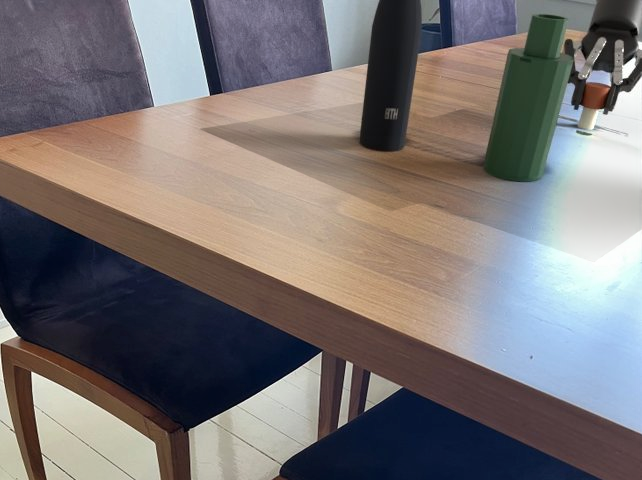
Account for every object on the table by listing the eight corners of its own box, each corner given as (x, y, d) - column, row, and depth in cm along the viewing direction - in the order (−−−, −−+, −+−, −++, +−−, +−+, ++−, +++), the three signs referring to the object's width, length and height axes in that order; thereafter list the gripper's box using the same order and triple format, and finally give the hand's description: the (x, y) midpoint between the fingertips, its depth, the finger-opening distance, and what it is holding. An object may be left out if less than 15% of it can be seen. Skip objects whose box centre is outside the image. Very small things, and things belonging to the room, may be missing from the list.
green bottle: (552, 173, 98) (594, 20, 87) (525, 186, 93) (567, 24, 82) (500, 158, 102) (535, 9, 90) (472, 169, 97) (505, 13, 86)
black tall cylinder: (380, 135, 106) (414, -127, 88) (413, 147, 103) (456, -123, 84) (349, 141, 103) (377, -130, 84) (382, 154, 99) (420, -127, 81)
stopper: (599, 134, 116) (615, 86, 112) (590, 138, 114) (605, 89, 109) (577, 128, 118) (591, 81, 113) (567, 132, 115) (581, 83, 111)
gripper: (661, 32, 115) (633, 131, 114) (570, 20, 119) (541, 116, 117) (675, -4, 108) (645, 101, 107) (577, -16, 111) (547, 86, 110)
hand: (591, 108), depth 112 cm, fingers closed on stopper, 3 cm apart
